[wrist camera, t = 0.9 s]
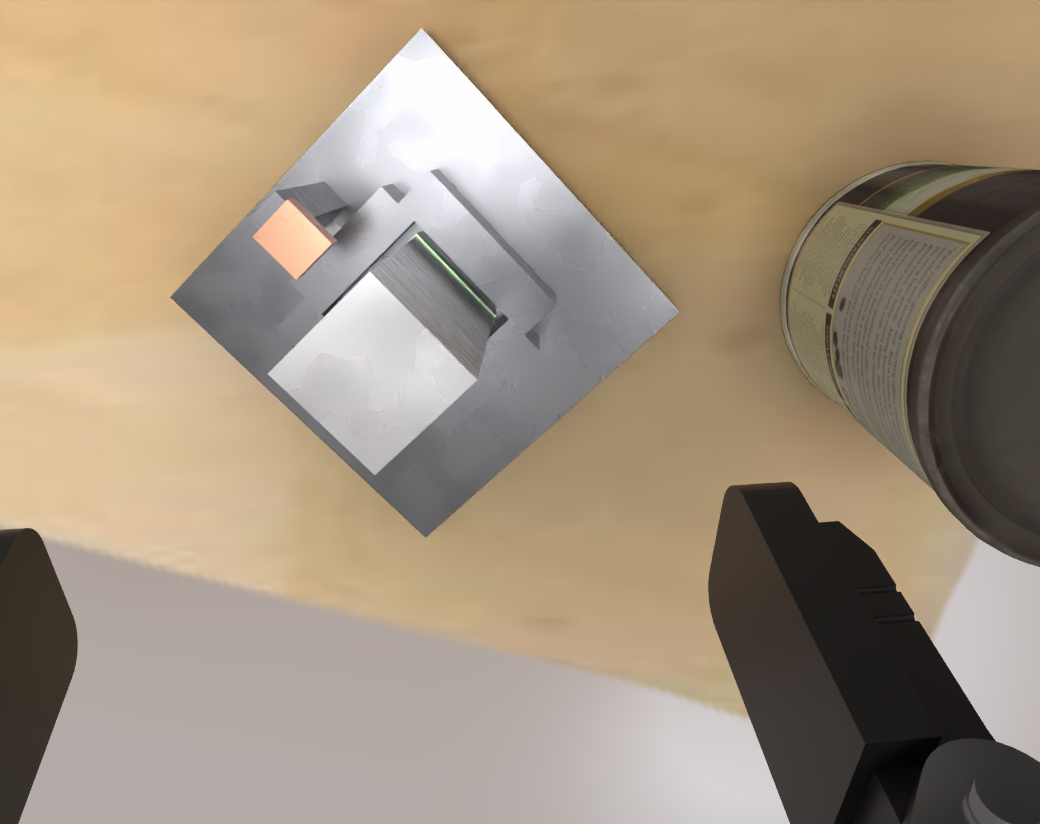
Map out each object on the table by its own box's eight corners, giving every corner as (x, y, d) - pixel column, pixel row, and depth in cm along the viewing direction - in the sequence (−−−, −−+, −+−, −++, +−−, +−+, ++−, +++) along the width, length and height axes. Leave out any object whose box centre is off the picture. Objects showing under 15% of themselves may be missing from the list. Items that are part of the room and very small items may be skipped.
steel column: (422, 229, 33) (369, 268, 23) (498, 307, 34) (480, 379, 24) (348, 302, 34) (265, 373, 24) (423, 378, 35) (374, 477, 25)
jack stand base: (426, 32, 33) (390, -3, 25) (673, 304, 36) (712, 352, 27) (185, 290, 36) (82, 334, 28) (429, 522, 39) (400, 623, 31)
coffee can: (936, 100, 33) (1208, 71, 20) (1089, 299, 35) (1431, 397, 22) (722, 287, 35) (835, 378, 22) (878, 464, 37) (1070, 647, 24)
